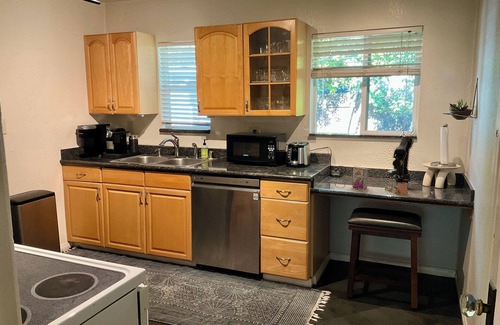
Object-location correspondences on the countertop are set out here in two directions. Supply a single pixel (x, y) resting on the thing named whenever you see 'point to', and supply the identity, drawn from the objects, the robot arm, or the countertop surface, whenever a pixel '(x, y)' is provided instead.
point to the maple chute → (393, 189)
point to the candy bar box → (360, 177)
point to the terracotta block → (402, 188)
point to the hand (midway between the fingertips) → (398, 186)
